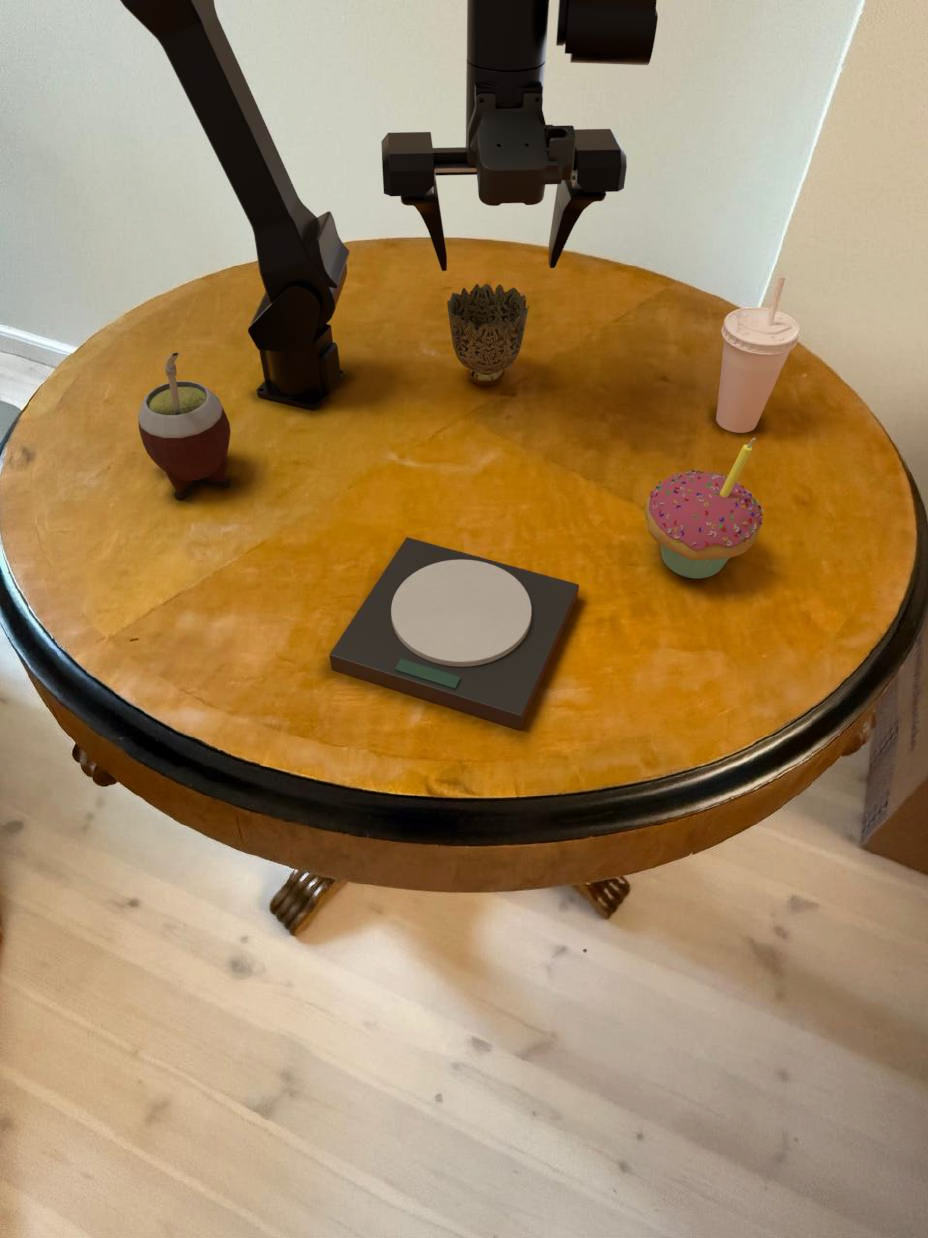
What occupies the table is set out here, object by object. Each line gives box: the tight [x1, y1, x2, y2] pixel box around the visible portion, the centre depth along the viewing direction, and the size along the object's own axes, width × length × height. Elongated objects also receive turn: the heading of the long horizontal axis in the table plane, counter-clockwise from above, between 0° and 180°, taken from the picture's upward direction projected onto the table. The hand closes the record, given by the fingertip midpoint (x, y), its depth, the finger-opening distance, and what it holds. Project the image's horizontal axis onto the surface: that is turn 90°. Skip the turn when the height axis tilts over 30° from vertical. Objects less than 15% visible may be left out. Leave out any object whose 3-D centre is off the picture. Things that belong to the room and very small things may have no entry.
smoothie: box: [715, 274, 801, 434], centre depth 78 cm, size 6×6×14 cm
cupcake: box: [644, 437, 765, 580], centre depth 66 cm, size 9×8×12 cm
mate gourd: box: [137, 351, 232, 501], centre depth 71 cm, size 8×8×15 cm
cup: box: [446, 283, 530, 387], centre depth 85 cm, size 8×7×8 cm
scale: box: [328, 536, 580, 731], centre depth 64 cm, size 14×13×2 cm
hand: (497, 267), depth 76 cm, fingers open, 9 cm apart
